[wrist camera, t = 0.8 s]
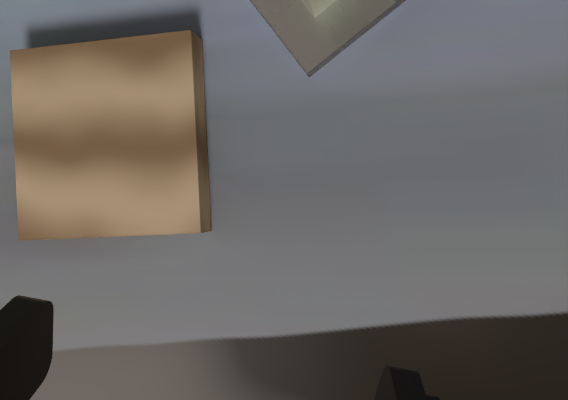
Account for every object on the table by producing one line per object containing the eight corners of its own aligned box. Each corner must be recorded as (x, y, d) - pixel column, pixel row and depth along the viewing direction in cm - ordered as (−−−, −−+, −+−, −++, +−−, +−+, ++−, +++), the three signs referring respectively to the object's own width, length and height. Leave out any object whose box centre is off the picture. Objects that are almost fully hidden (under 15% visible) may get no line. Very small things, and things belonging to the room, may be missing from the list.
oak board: (31, 59, 34) (10, 50, 32) (202, 40, 32) (190, 29, 30) (39, 237, 34) (18, 240, 32) (211, 230, 31) (200, 232, 30)
